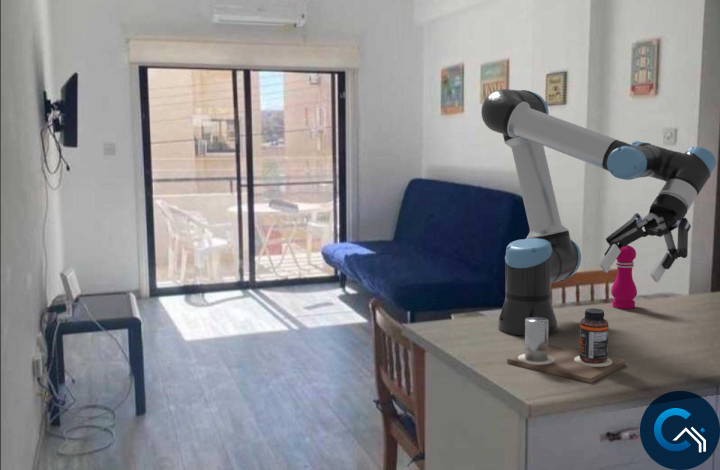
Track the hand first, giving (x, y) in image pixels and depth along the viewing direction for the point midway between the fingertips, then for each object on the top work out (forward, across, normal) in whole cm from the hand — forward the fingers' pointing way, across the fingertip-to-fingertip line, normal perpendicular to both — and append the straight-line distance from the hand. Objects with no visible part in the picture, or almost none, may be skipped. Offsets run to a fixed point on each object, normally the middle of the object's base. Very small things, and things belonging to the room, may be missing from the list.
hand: (627, 273), depth 158 cm
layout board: (+24, +4, -3) cm, 25 cm away
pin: (+28, +8, 0) cm, 29 cm away
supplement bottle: (+21, 0, -5) cm, 21 cm away
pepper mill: (-14, +32, -42) cm, 55 cm away
